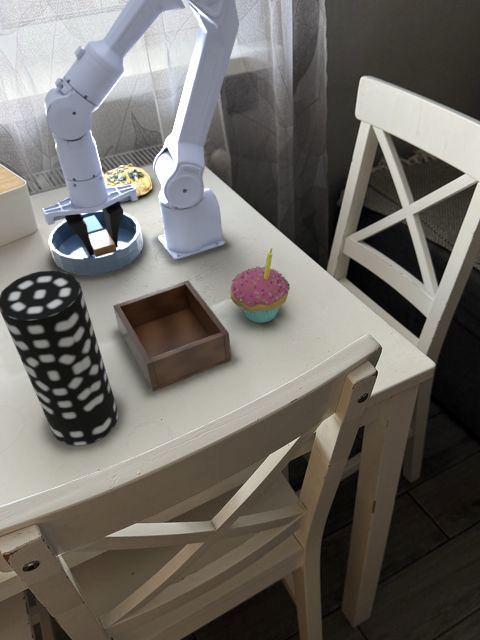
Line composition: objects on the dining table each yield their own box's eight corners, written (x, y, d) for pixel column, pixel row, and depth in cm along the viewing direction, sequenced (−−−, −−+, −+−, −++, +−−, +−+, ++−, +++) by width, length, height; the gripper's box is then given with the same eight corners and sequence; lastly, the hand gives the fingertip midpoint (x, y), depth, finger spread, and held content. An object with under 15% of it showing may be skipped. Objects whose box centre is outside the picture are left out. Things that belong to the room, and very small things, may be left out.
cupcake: (296, 301, 91) (296, 234, 83) (278, 337, 85) (277, 268, 77) (243, 291, 93) (238, 224, 85) (223, 325, 87) (216, 257, 79)
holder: (192, 306, 91) (188, 279, 88) (231, 360, 82) (229, 333, 79) (119, 331, 87) (112, 305, 84) (152, 391, 78) (146, 364, 75)
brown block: (109, 244, 102) (105, 229, 100) (118, 258, 99) (115, 243, 97) (89, 250, 101) (85, 235, 99) (98, 265, 97) (94, 249, 95)
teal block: (98, 229, 107) (94, 215, 105) (106, 242, 104) (102, 228, 102) (79, 235, 106) (74, 220, 104) (87, 248, 103) (82, 233, 100)
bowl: (126, 218, 110) (122, 201, 108) (156, 259, 100) (153, 241, 98) (44, 242, 105) (38, 225, 103) (67, 287, 95) (61, 269, 93)
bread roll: (125, 170, 124) (122, 148, 120) (165, 191, 120) (163, 169, 116) (85, 194, 118) (80, 172, 114) (125, 217, 114) (122, 195, 110)
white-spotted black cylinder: (57, 397, 78) (8, 273, 64) (121, 392, 78) (85, 267, 65) (45, 448, 72) (-12, 323, 58) (115, 442, 72) (74, 317, 59)
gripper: (120, 150, 94) (135, 225, 104) (28, 173, 90) (53, 249, 99) (135, 168, 90) (150, 244, 99) (39, 193, 85) (64, 271, 94)
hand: (102, 248), depth 99 cm, fingers closed on brown block, 3 cm apart
